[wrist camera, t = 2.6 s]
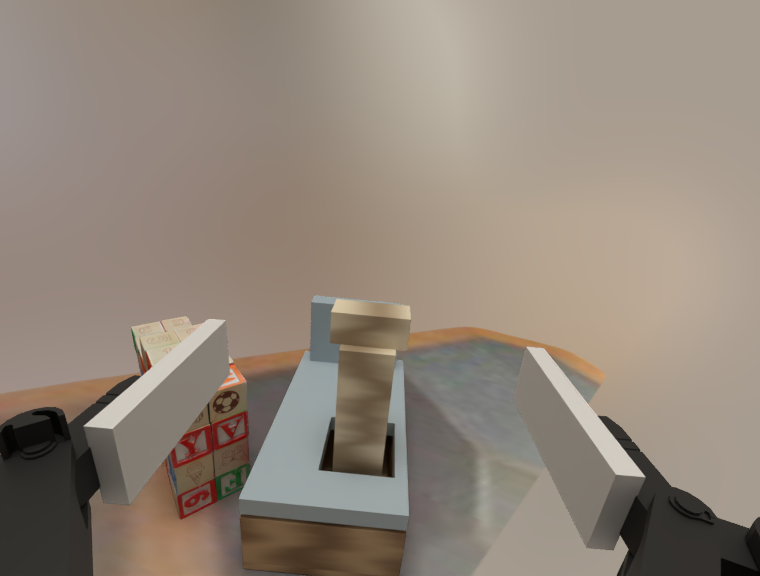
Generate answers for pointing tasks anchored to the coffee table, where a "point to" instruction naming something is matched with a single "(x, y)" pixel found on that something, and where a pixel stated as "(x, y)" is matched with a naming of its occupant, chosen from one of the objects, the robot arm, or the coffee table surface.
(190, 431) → the stack of blocks
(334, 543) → the wooden box
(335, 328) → the key
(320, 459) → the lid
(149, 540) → the coffee table surface
